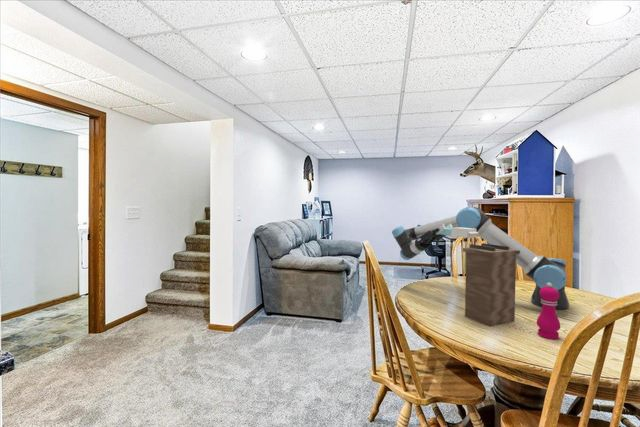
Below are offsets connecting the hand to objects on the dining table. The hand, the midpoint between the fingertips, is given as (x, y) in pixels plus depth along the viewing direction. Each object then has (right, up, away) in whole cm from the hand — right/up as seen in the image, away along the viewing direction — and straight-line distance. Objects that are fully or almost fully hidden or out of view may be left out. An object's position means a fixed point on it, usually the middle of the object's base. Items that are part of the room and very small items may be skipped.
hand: (447, 226), depth 157 cm
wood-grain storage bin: (+9, -39, -21) cm, 45 cm away
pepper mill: (+22, -40, -39) cm, 60 cm away
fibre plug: (+2, -4, -5) cm, 7 cm away
